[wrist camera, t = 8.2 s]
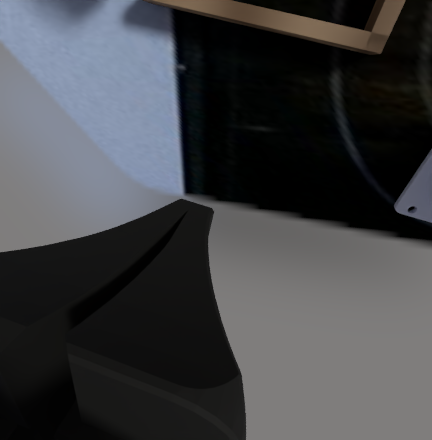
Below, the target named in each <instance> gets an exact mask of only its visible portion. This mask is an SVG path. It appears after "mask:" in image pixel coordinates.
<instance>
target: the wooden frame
mask: <svg viewBox="0 0 432 440" xmlns="http://www.w3.org/2000/svg"><path fill="white" fill-rule="evenodd" d="M143 1H146V2H148V3H152V4H156V5H160V6H164V7H169V8H173V9H177V10H181V11H186V12H190V13H194V14H198V15H203V16H207V17H211V18H216V19H220V20H224V21H228V22H233V23H237V24H241V25H245V26H250V27H254V28H258V29H262V30H267V31H271V32H275V33H279V34H284V35H288V36H292V37H297V38H301V39H305V40H309V41H314V42H318V43H322V44H326V45H331V46H335V47H339V48H343V49H348V50H352V51H356V52H360V53H365V54H369V55H372V54H381V52H382V50H383V48H384V46H385V43H386V41H387V39H388V37H389V35H390V33H391V31H392V28H393V26H394V24H395V22H396V20H397V18H398V16H399V13H400V11H401V9H402V7H403V5H404V3H405V1H406V0H376V2H375V5H374V7H373V9H372V12H371V14H370V17H369V19H368V21H367V24H366V26H365V29H364V30H360V29H355V28H351V27H347V26H342V25H338V24H333V23H329V22H324V21H320V20H316V19H311V18H307V17H302V16H298V15H294V14H289V13H285V12H280V11H276V10H271V9H267V8H263V7H258V6H254V5H249V4H245V3H240V2H236V1H232V0H143Z"/></svg>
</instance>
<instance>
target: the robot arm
mask: <svg viewBox="0 0 432 440" xmlns="http://www.w3.org/2000/svg"><path fill="white" fill-rule="evenodd" d="M412 206H415V208H414V209H413V210H410V211H409V210H408V208H409V207H412ZM394 208H395V210H396V211H397V212H398V213H400V214H403V215H407V216H410V217H413V218H417V219H420V220H424V221H427V222H431V223H432V149H431V151H430V152H429V154H428V155H427V157H426V158H425V160H424V161H423V162H422V164H421V165H420V167H419V168H418V170H417V171H416V173H415V174H414V176H413V177H412V179H411V180H410V182H409V183H408V185H407V186H406V188H405V189H404V191H403V192H402V194H401V195H400V197H399V198H398V200H397V201H396V203H395V205H394ZM213 214H214V211H213V209H212V208H210V207H206V206H203V205H200V204H197V203H194V202H190V201H187V200H184V199H179V200H177V201H175V202H173V203H171V204H169V205H167V206H165V207H163V208H160V209H158V210H156V211H154V212H152V213H150V214H147V215H145V216H143V217H140V218H138V219H136V220H133V221H130V222H128V223H125V224H123V225H120V226H118V227H115V228H112V229H109V230H106V231H103V232H99V233H96V234H92V235H89V236H85V237H81V238H77V239H73V240H68V241H64V242H59V243H55V244H50V245H45V246H39V247H34V248H28V249H21V250H14V251H8V252H0V440H246V413H245V402H244V393H243V383H242V375H241V372H240V369H239V367H238V364H237V362H236V360H235V357H234V355H233V352H232V349H231V347H230V344H229V341H228V339H227V336H226V333H225V330H224V327H223V324H222V321H221V317H220V313H219V310H218V306H217V302H216V299H215V295H214V290H213V285H212V280H211V274H210V267H209V255H208V235H209V231H210V227H211V222H212V218H213Z"/></svg>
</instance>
